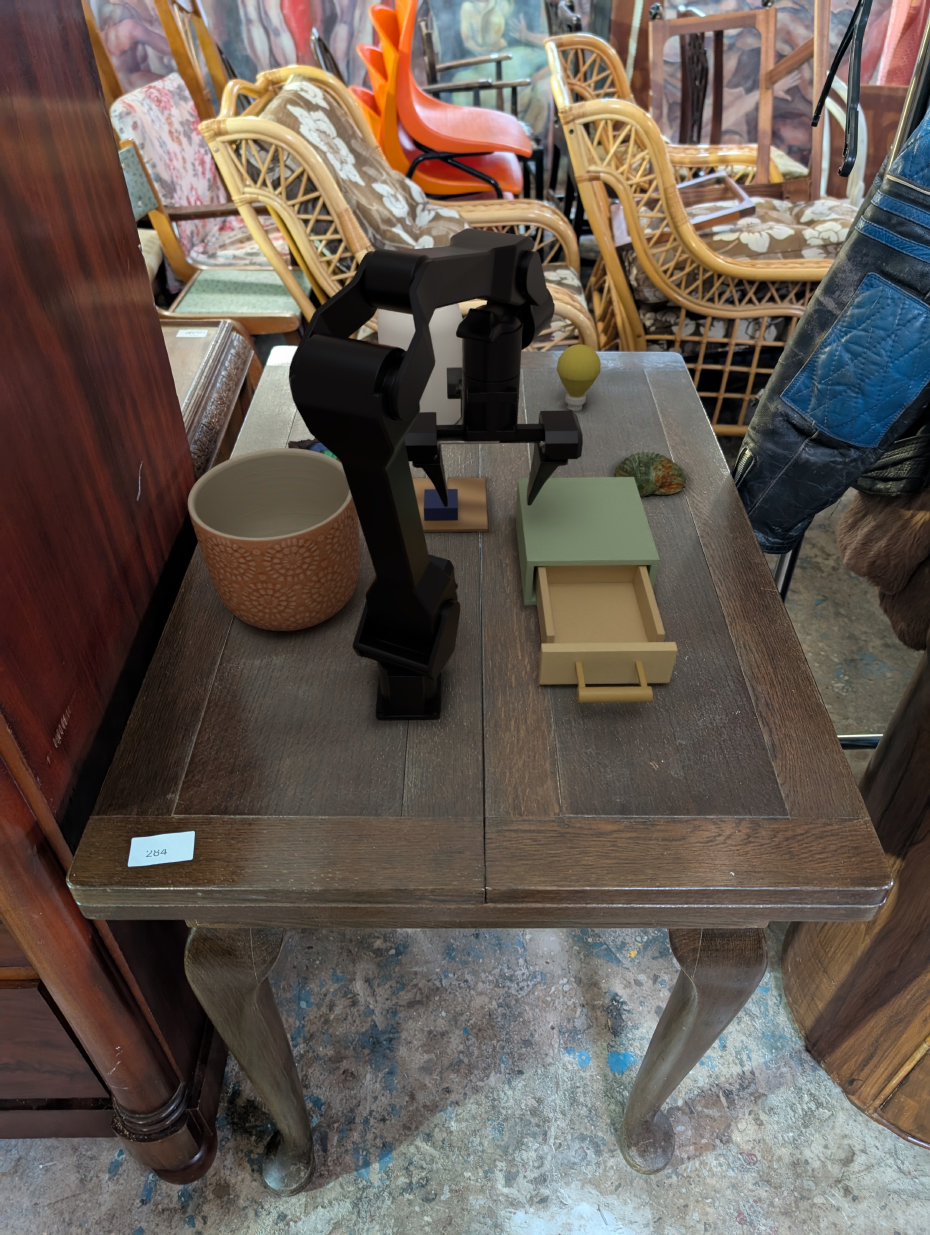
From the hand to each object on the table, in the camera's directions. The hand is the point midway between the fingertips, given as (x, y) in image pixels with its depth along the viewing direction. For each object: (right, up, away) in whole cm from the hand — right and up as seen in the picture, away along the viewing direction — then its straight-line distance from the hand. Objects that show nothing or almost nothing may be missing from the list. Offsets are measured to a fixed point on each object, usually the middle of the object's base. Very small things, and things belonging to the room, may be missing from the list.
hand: (487, 504), depth 88 cm
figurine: (-21, +5, +22) cm, 31 cm away
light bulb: (+15, +21, +39) cm, 46 cm away
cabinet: (+12, -6, +10) cm, 16 cm away
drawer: (+12, -16, -3) cm, 20 cm away
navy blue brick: (-6, +3, +18) cm, 19 cm away
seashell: (+23, +7, +23) cm, 34 cm away
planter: (-22, -11, +4) cm, 25 cm away
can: (-9, +19, +37) cm, 43 cm away
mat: (-6, +2, +18) cm, 19 cm away
